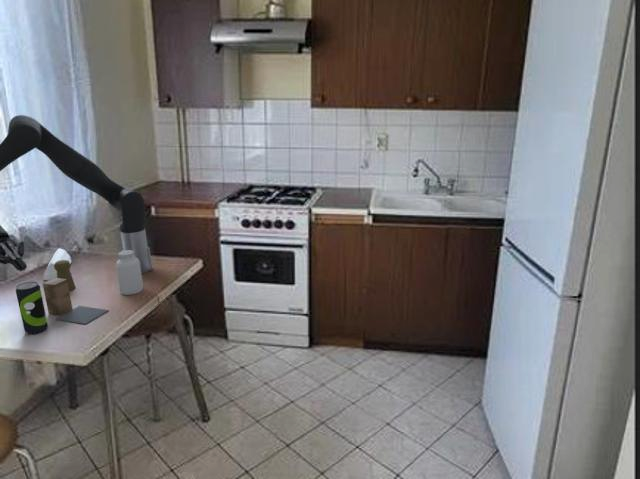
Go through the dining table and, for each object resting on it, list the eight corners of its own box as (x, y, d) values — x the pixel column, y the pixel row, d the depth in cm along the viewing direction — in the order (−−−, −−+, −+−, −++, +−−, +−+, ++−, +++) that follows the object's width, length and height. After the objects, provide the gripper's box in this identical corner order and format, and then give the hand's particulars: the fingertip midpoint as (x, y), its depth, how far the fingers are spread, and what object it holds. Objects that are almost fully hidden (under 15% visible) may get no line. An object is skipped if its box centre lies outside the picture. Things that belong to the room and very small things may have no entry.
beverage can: (34, 325, 148) (24, 280, 144) (52, 325, 148) (43, 281, 143) (20, 334, 142) (9, 288, 138) (39, 335, 142) (29, 289, 137)
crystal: (68, 270, 184) (75, 252, 206) (48, 263, 181) (58, 245, 203) (60, 287, 185) (68, 267, 207) (40, 280, 182) (51, 261, 204)
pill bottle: (121, 297, 168) (115, 257, 164) (119, 289, 175) (113, 250, 170) (144, 292, 171) (139, 253, 167) (141, 285, 178) (136, 247, 174)
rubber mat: (55, 319, 152) (55, 318, 152) (79, 306, 161) (79, 305, 161) (85, 324, 148) (85, 323, 148) (108, 311, 157) (108, 310, 157)
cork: (68, 292, 173) (62, 264, 169) (53, 291, 174) (48, 263, 171) (79, 286, 178) (74, 258, 175) (65, 285, 179) (60, 257, 176)
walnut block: (48, 314, 156) (41, 283, 153) (60, 307, 160) (54, 277, 157) (60, 316, 154) (54, 284, 151) (72, 309, 159) (67, 279, 156)
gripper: (2, 232, 164) (36, 269, 163) (-36, 243, 152) (0, 283, 151) (11, 218, 161) (45, 256, 160) (-28, 228, 149) (9, 269, 148)
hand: (23, 269), depth 156 cm, fingers closed
